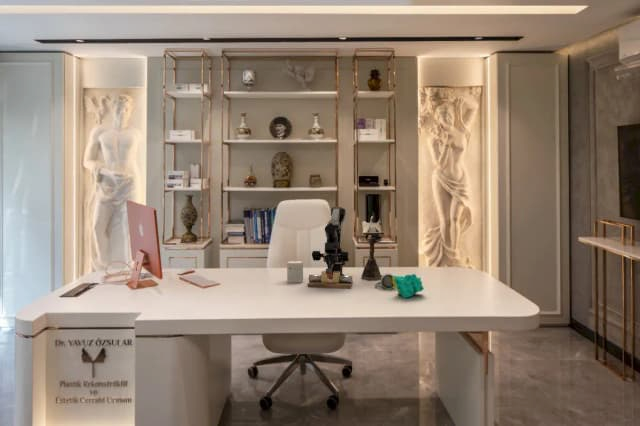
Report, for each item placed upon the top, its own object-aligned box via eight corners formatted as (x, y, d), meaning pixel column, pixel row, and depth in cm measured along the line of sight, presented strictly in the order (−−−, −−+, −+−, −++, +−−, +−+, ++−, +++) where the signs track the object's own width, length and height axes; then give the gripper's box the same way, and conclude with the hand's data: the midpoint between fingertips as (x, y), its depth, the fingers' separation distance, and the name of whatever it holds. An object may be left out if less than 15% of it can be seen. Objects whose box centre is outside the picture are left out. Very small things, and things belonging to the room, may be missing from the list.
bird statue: (386, 282, 259) (387, 216, 257) (361, 282, 260) (362, 216, 258) (384, 276, 276) (385, 214, 273) (361, 275, 277) (361, 214, 274)
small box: (303, 280, 264) (303, 261, 263) (302, 282, 259) (302, 263, 258) (288, 280, 265) (288, 260, 264) (287, 282, 259) (286, 262, 259)
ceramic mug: (394, 285, 252) (394, 271, 251) (395, 289, 244) (395, 274, 243) (374, 286, 252) (374, 271, 251) (375, 289, 244) (375, 274, 244)
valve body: (310, 280, 256) (310, 270, 256) (352, 282, 253) (352, 271, 253) (308, 282, 252) (308, 271, 252) (351, 283, 249) (351, 273, 248)
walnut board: (311, 282, 260) (311, 279, 260) (352, 283, 257) (352, 280, 257) (307, 286, 248) (307, 284, 248) (350, 288, 245) (350, 285, 245)
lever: (328, 276, 254) (325, 268, 244) (333, 276, 254) (331, 268, 244) (327, 279, 253) (325, 271, 243) (333, 280, 253) (331, 272, 243)
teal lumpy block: (390, 277, 239) (415, 266, 237) (401, 299, 237) (426, 288, 235) (388, 277, 225) (414, 265, 223) (399, 301, 222) (426, 289, 221)
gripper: (312, 235, 250) (308, 262, 241) (348, 236, 247) (346, 263, 239) (314, 246, 259) (311, 273, 250) (350, 247, 256) (348, 274, 248)
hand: (329, 270), depth 246 cm, fingers closed, pressing on lever
